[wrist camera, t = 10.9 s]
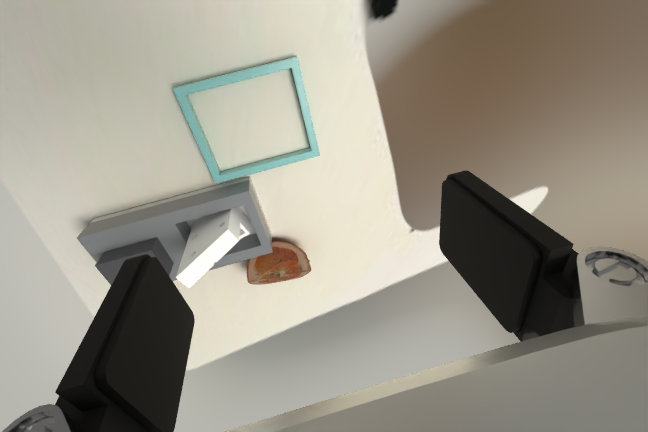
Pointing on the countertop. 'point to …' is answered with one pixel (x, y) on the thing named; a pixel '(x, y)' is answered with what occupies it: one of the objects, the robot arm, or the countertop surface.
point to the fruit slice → (278, 264)
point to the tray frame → (235, 77)
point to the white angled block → (211, 242)
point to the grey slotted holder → (174, 229)
